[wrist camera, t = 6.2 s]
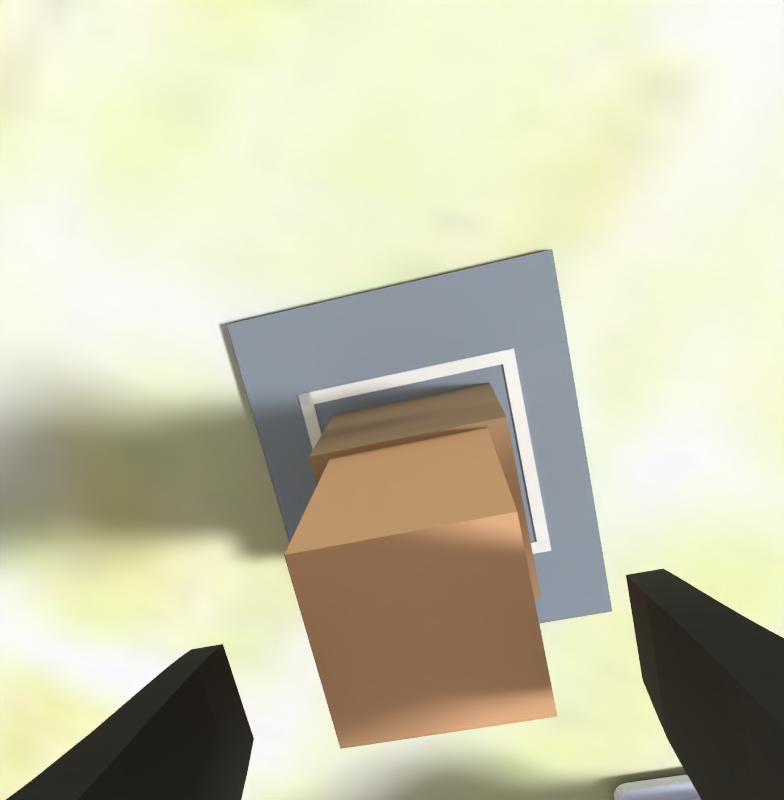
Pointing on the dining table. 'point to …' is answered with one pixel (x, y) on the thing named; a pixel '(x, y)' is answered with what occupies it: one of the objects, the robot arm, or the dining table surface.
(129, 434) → the dining table surface
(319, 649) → the terracotta block
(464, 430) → the walnut block
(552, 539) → the mat
